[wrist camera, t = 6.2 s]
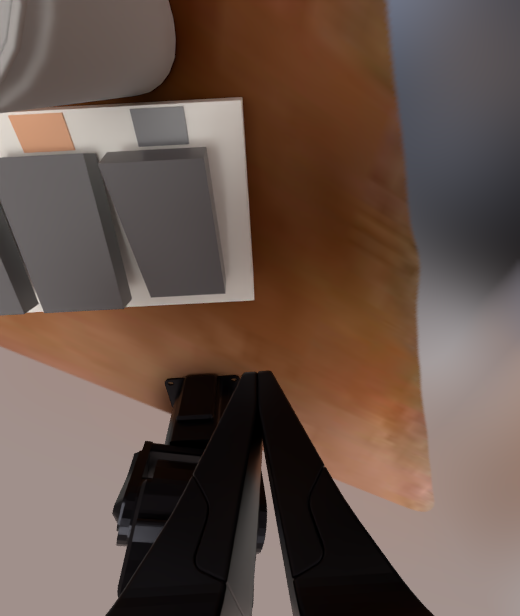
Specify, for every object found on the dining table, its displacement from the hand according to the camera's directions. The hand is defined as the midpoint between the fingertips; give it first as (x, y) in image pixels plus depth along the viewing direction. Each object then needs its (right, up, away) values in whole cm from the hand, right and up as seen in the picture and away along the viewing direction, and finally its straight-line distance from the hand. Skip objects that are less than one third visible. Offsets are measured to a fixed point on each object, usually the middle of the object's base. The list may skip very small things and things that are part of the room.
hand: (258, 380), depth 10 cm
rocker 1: (-4, +6, +5) cm, 9 cm away
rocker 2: (-9, +5, +5) cm, 12 cm away
